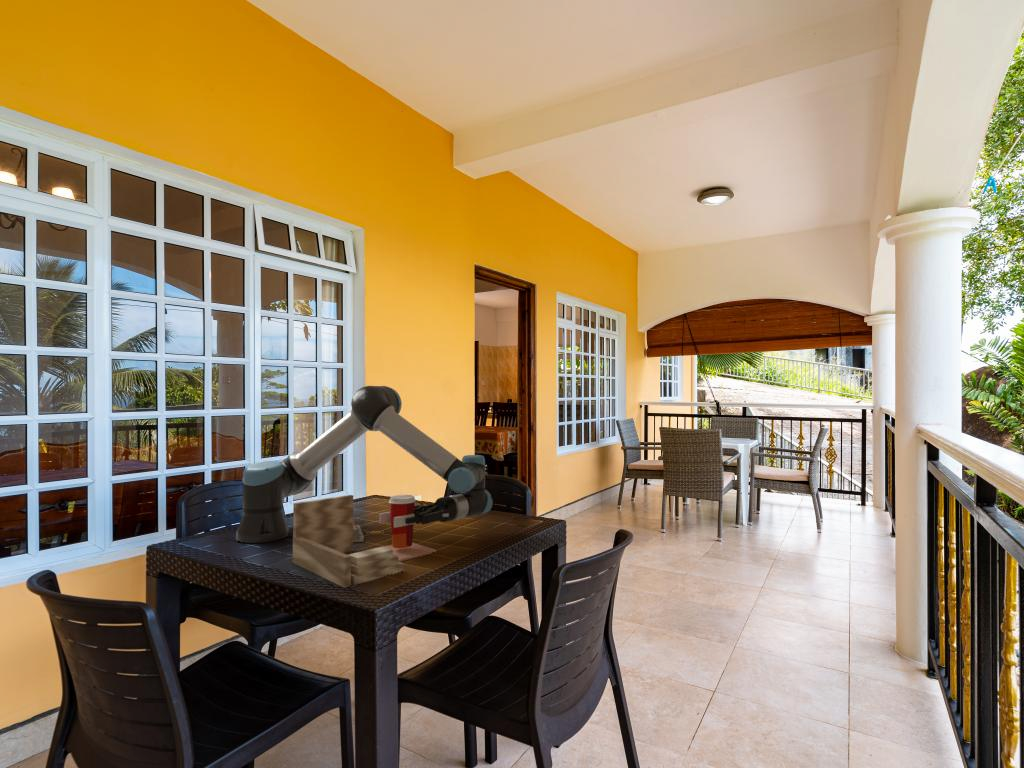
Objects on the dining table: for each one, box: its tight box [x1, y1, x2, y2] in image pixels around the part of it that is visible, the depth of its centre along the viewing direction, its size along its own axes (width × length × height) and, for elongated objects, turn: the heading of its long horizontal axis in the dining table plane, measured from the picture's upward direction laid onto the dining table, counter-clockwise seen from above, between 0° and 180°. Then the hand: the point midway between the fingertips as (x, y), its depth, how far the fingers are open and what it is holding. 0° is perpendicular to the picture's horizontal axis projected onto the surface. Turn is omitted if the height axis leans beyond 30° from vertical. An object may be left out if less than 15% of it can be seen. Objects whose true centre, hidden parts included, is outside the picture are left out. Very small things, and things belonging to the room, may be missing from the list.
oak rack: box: [292, 494, 354, 589], centre depth 143 cm, size 17×28×16 cm, turn 46°
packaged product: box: [353, 518, 365, 544], centre depth 174 cm, size 18×5×10 cm
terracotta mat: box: [383, 541, 438, 563], centre depth 155 cm, size 14×14×1 cm
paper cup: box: [388, 494, 416, 548], centre depth 156 cm, size 8×8×14 cm
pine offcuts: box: [347, 546, 405, 586], centre depth 135 cm, size 14×5×6 cm, turn 136°
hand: (387, 520), depth 152 cm, fingers closed on paper cup, 7 cm apart
